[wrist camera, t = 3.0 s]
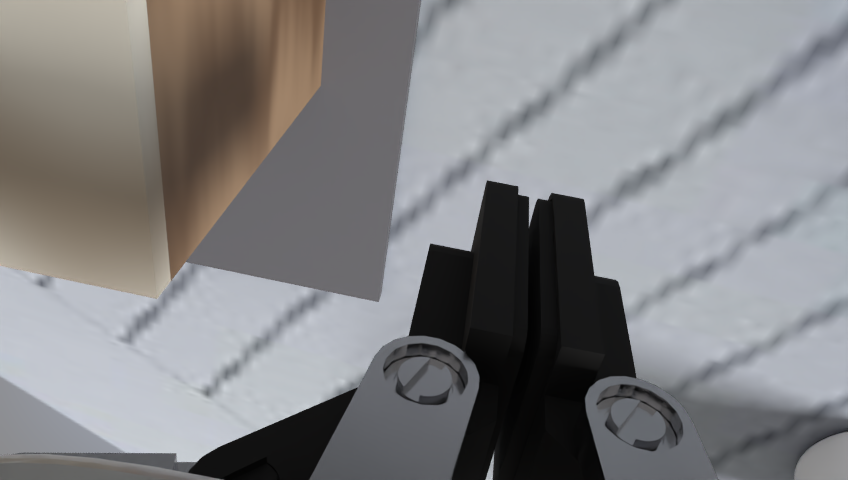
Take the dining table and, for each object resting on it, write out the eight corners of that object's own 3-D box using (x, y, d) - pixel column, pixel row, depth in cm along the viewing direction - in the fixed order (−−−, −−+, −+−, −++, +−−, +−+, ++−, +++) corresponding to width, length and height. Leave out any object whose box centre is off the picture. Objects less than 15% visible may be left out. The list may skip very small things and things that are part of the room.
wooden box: (137, -141, 20) (-247, -78, 11) (331, -105, 20) (125, -7, 10) (154, 53, 24) (-126, 239, 14) (320, 85, 24) (157, 298, 14)
